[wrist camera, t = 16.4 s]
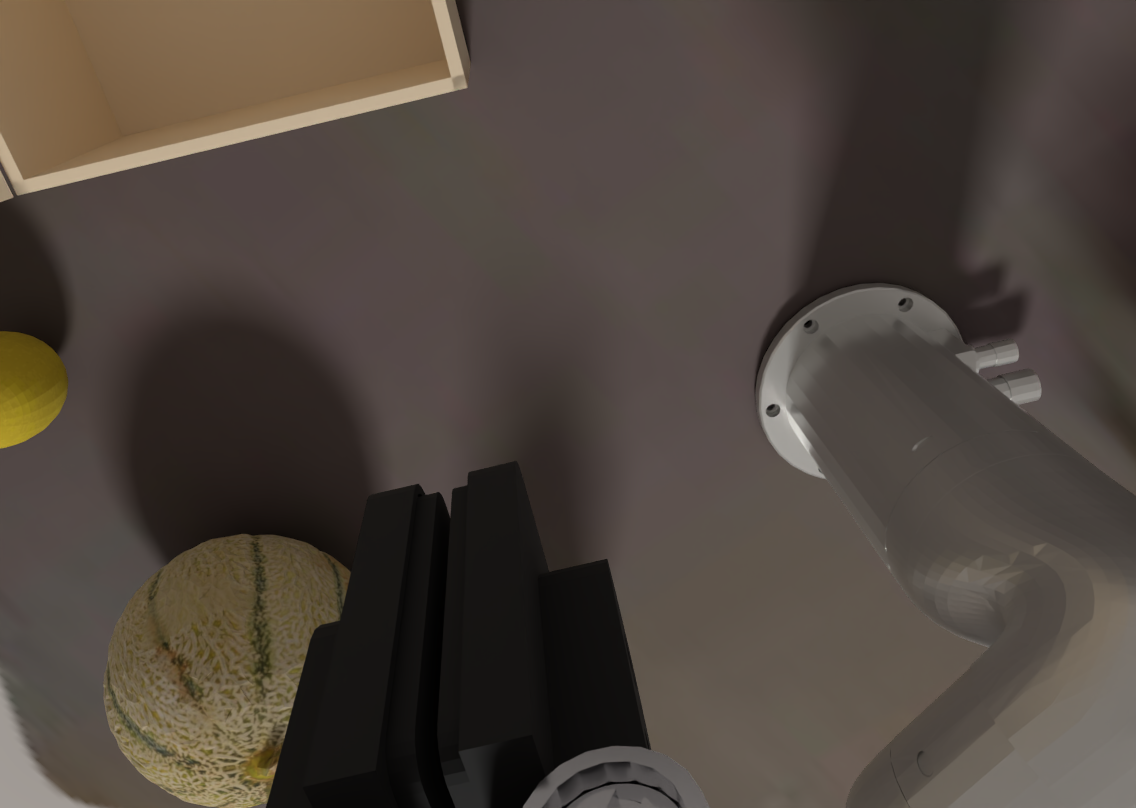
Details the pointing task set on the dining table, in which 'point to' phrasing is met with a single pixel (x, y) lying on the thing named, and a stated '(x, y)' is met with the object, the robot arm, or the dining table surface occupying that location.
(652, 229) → the dining table surface
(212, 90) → the carton
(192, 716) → the cantaloupe
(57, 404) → the lemon
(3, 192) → the carton lid
